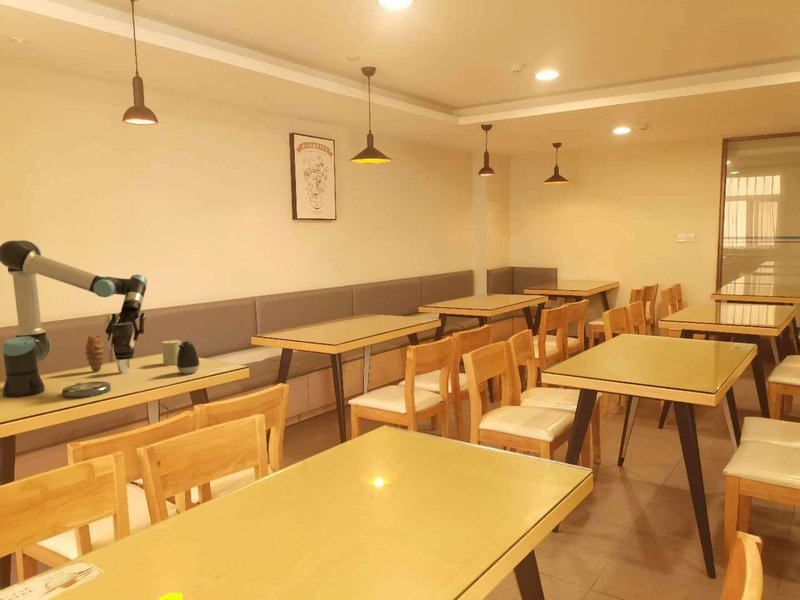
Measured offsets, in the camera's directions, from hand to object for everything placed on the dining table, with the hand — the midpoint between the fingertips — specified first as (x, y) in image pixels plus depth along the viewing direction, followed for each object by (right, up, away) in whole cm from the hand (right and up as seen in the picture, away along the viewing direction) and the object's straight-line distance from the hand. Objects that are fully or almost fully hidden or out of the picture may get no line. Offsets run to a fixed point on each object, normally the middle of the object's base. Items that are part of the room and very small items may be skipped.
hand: (120, 346), depth 250 cm
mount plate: (-13, -19, -1) cm, 24 cm away
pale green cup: (+2, -13, +53) cm, 55 cm away
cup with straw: (-16, -16, +36) cm, 42 cm away
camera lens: (0, -6, +4) cm, 7 cm away
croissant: (-31, -16, +40) cm, 53 cm away
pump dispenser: (+18, -15, +30) cm, 38 cm away
